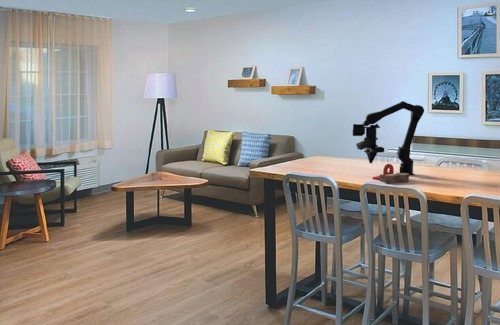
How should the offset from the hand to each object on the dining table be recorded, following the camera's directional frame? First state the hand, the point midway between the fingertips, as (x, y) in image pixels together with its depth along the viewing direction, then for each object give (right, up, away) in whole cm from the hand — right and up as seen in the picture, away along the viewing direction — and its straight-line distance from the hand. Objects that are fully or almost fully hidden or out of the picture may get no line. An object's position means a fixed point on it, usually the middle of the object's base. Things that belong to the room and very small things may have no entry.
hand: (370, 163), depth 277 cm
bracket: (+4, -9, -11) cm, 14 cm away
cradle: (+7, -10, -20) cm, 23 cm away
